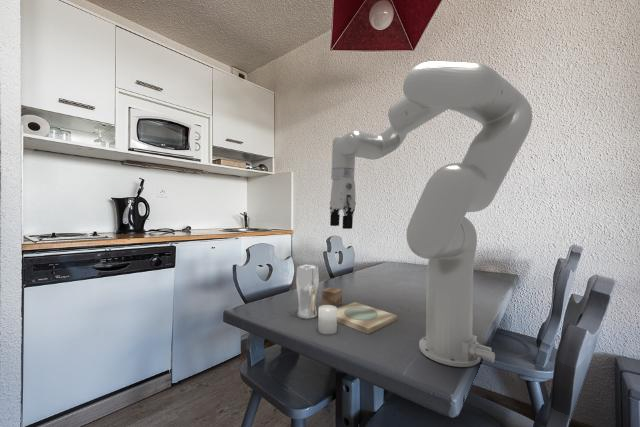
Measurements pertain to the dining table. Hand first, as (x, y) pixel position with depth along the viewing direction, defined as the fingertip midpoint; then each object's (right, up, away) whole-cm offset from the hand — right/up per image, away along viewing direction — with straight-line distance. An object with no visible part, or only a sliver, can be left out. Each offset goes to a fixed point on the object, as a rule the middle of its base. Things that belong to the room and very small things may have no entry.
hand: (340, 227), depth 90 cm
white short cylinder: (-5, -27, -16) cm, 32 cm away
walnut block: (-3, -27, +5) cm, 28 cm away
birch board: (+5, -27, -8) cm, 29 cm away
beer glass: (-11, -27, -6) cm, 30 cm away
